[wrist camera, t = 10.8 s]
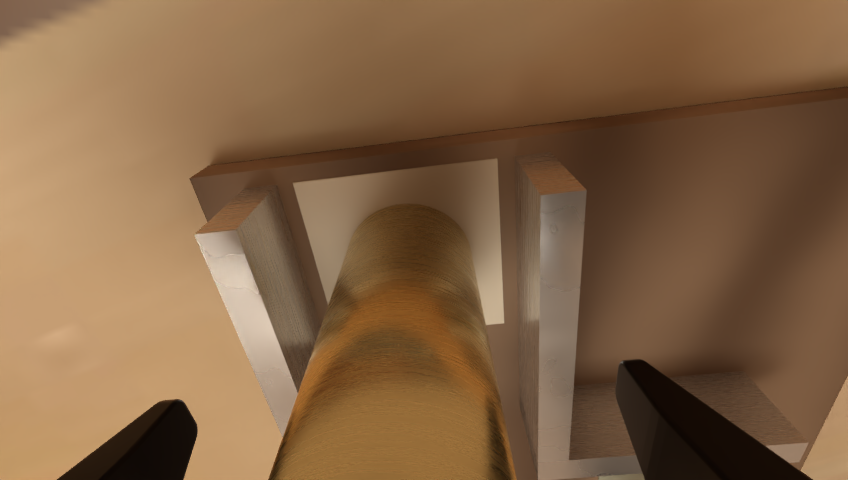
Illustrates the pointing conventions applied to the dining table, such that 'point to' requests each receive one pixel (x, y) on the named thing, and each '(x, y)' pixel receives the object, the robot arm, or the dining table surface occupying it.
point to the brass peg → (400, 364)
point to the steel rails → (537, 326)
